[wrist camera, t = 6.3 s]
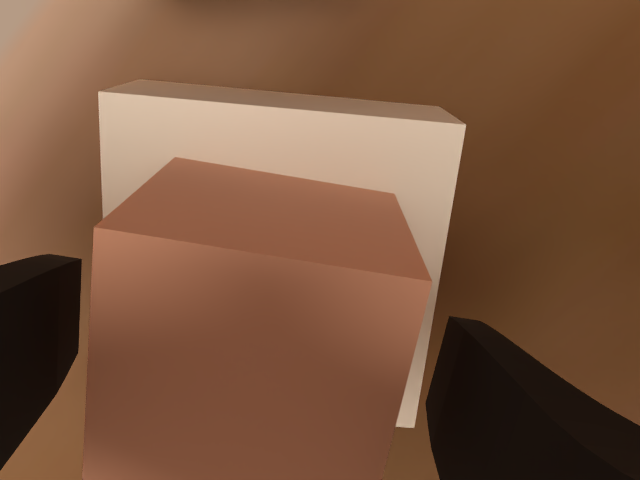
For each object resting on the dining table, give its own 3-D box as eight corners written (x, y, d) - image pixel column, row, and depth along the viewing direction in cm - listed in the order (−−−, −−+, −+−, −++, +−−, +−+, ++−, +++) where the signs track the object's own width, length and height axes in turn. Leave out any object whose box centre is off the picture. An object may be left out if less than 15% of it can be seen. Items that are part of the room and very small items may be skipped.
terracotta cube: (353, 380, 15) (367, 538, 10) (157, 351, 15) (81, 498, 10) (394, 193, 14) (432, 281, 9) (174, 156, 13) (93, 226, 9)
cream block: (436, 104, 16) (466, 124, 13) (398, 358, 19) (414, 427, 16) (143, 77, 16) (98, 91, 13) (146, 338, 19) (109, 405, 16)
